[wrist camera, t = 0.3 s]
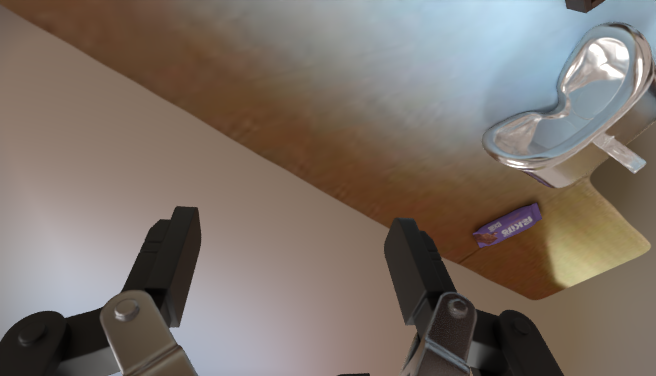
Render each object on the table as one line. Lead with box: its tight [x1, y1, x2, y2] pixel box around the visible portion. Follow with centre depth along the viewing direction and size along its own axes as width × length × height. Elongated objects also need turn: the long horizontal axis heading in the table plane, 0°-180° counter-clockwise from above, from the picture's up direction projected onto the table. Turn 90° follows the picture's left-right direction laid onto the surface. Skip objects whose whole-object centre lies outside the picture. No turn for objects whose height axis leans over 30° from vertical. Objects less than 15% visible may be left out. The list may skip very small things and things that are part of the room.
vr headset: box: [482, 22, 656, 188], centre depth 38 cm, size 18×11×14 cm, turn 146°
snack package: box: [473, 203, 542, 248], centre depth 58 cm, size 12×2×5 cm
